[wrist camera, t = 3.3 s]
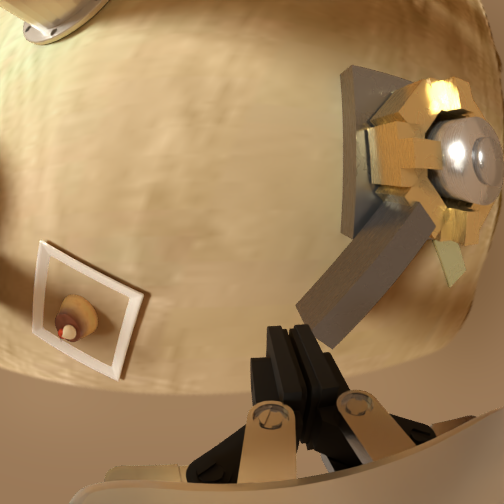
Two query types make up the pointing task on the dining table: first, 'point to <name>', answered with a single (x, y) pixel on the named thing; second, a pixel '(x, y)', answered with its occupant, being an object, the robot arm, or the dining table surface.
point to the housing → (444, 181)
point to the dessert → (81, 313)
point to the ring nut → (396, 207)
